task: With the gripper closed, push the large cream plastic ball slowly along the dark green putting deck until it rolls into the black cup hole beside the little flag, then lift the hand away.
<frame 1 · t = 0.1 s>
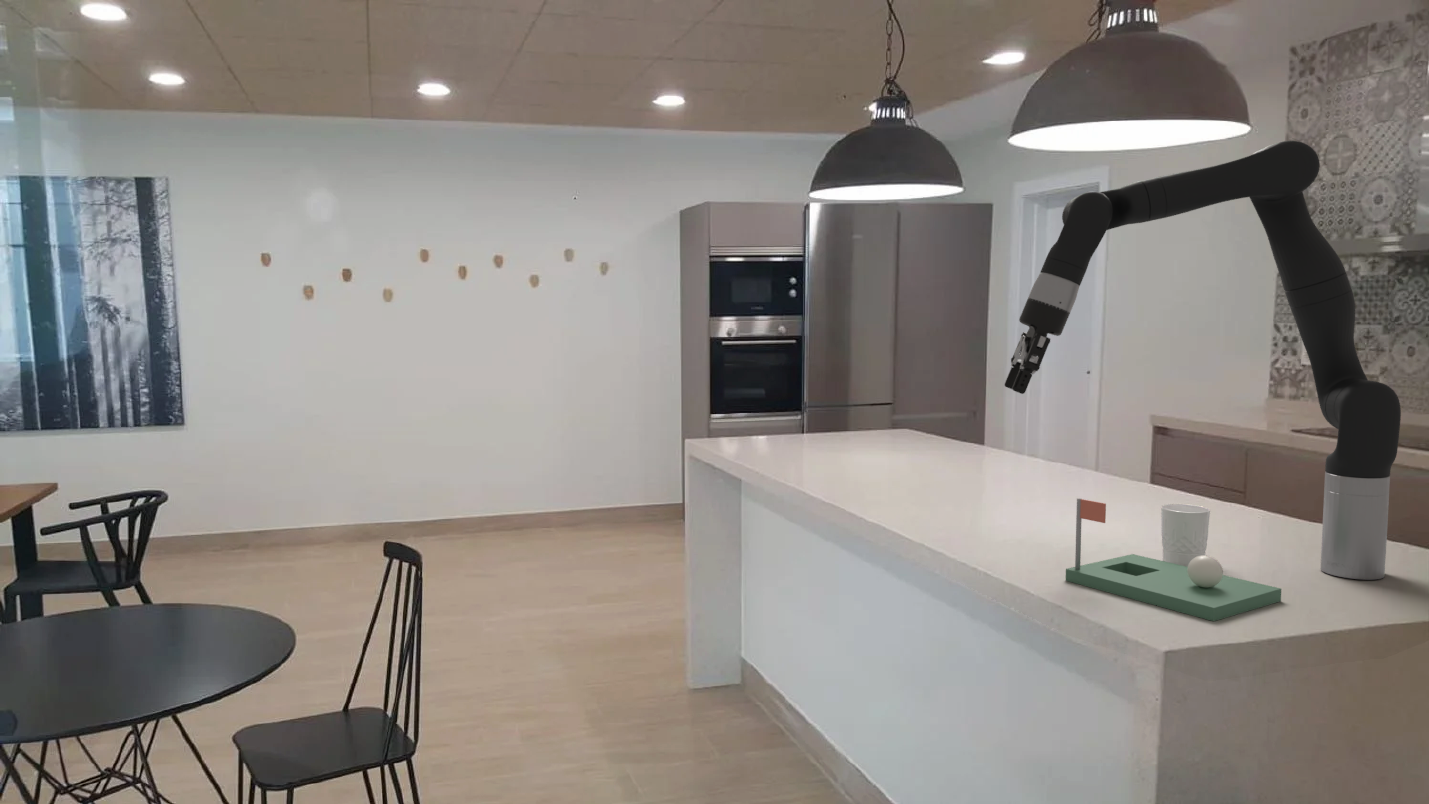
hand: (1013, 390, 172), 31 cm above the countertop, tool tilted 20°, fingers open, 8 cm apart
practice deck: (1168, 590, 158), on the countertop
ball: (1205, 571, 152), point 4 cm above the countertop, touching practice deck
white cup: (1183, 563, 175), on the countertop
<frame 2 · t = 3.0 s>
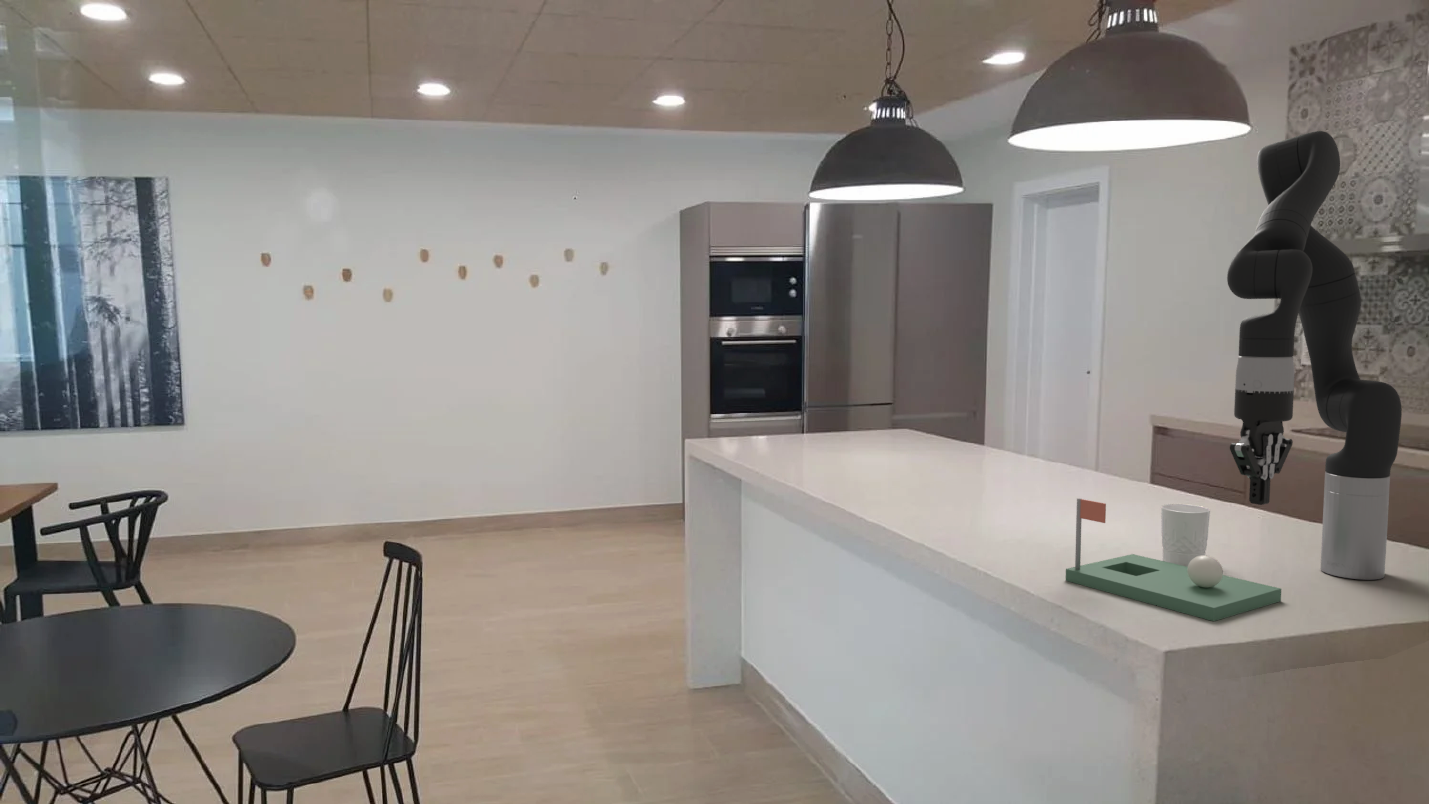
hand: (1259, 503, 144), 17 cm above the countertop, tool pointing down, fingers closed
nothing on the countertop moved.
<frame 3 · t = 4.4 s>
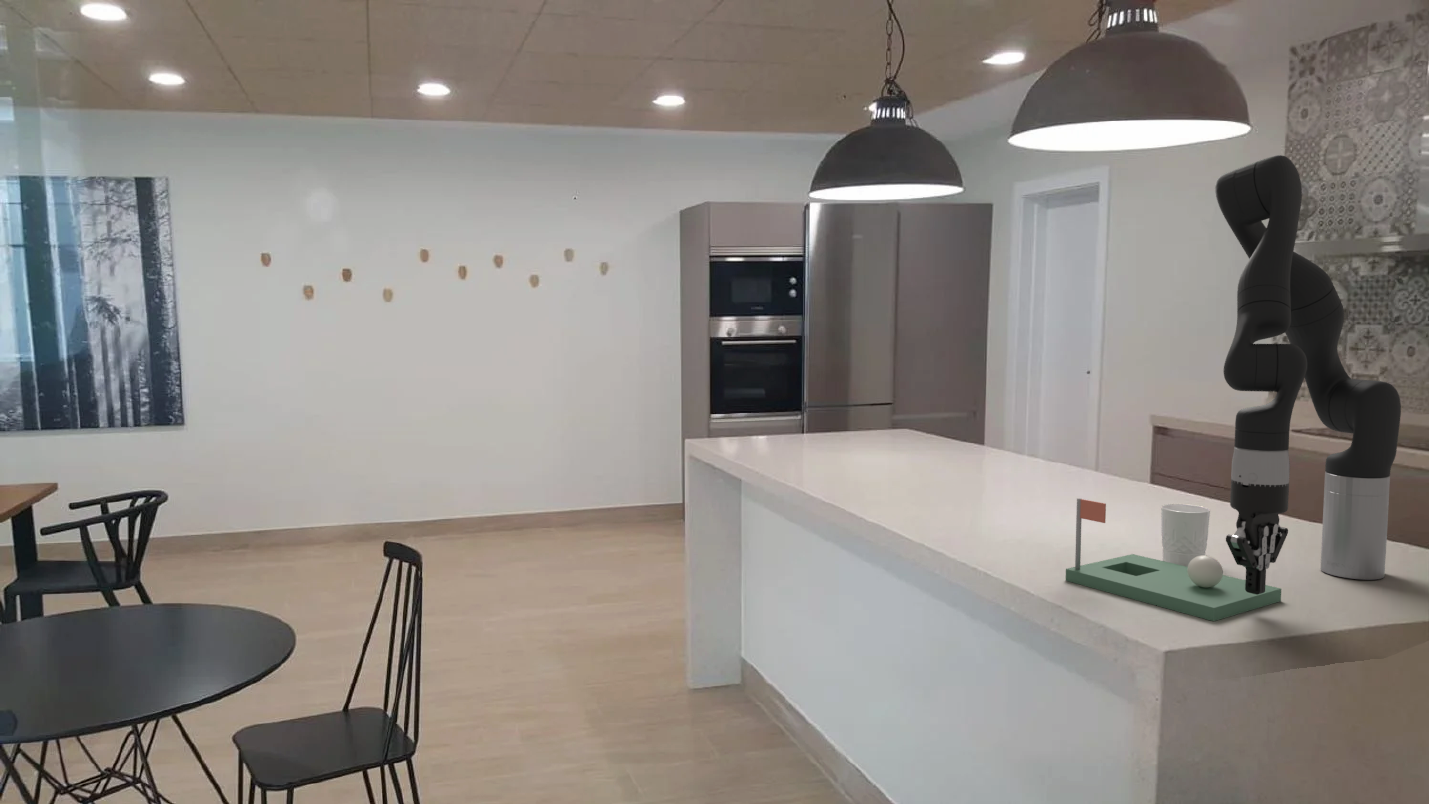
hand: (1254, 592, 145), 3 cm above the countertop, tool pointing down, fingers closed
nothing on the countertop moved.
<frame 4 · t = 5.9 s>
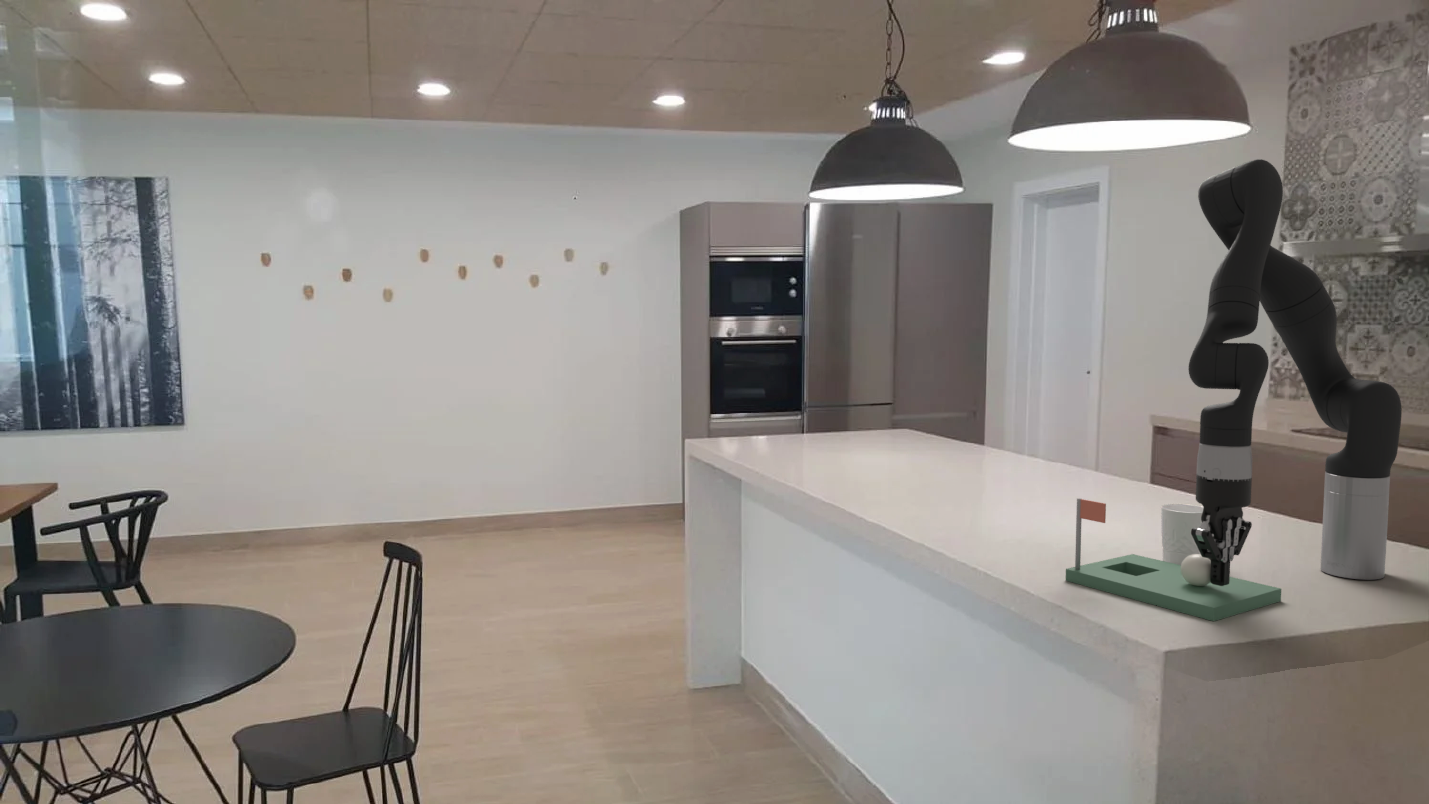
hand: (1219, 584, 150), 3 cm above the countertop, tool pointing down, fingers closed
ball: (1198, 569, 153), point 4 cm above the countertop, tilted 25°, touching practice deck
everything else where it was.
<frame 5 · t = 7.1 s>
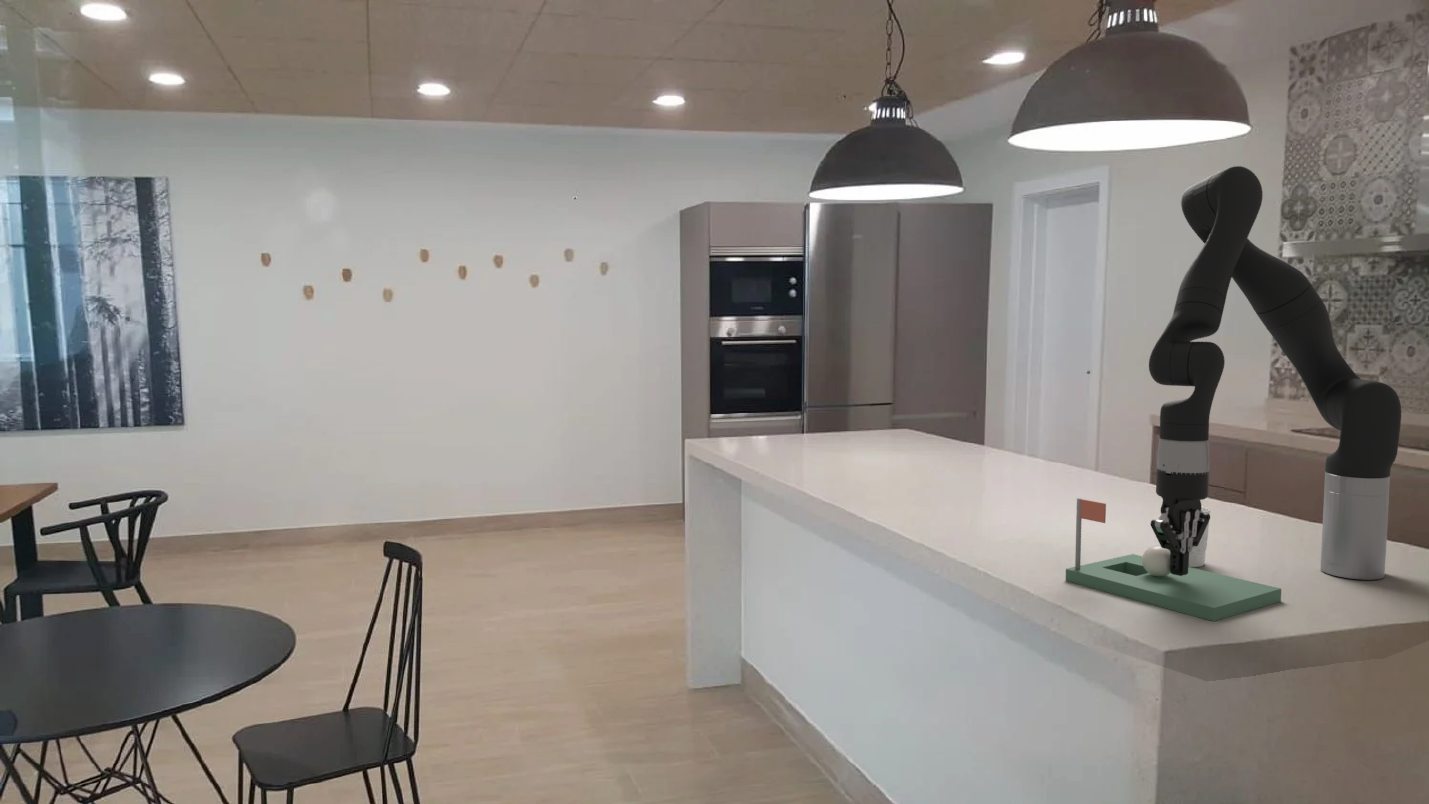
hand: (1178, 574, 156), 3 cm above the countertop, tool pointing down, fingers closed
ball: (1158, 561, 158), point 4 cm above the countertop, tilted 147°, touching gripper, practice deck
everything else where it was.
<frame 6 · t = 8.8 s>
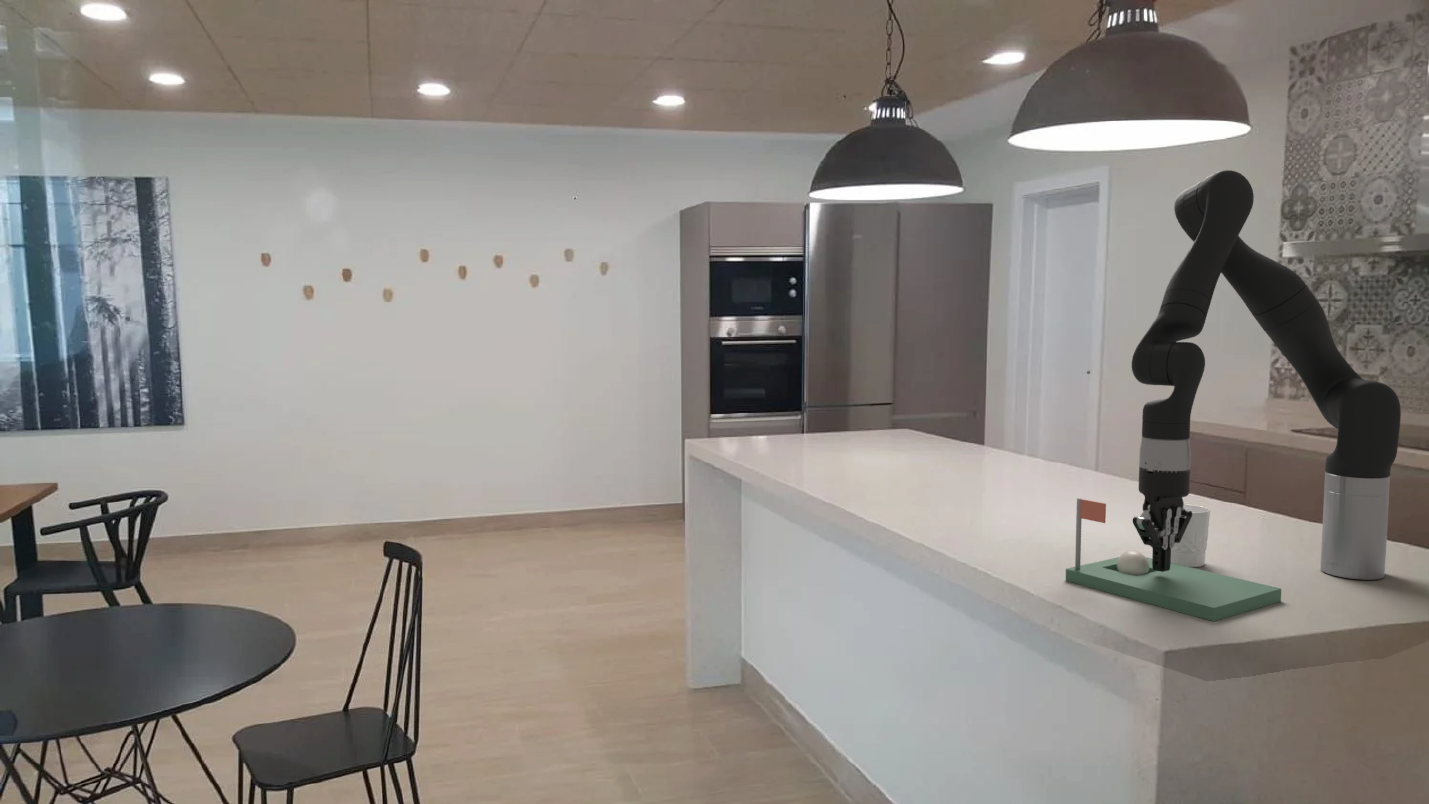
hand: (1161, 570, 159), 3 cm above the countertop, tool pointing down, fingers closed
ball: (1133, 565, 163), point 3 cm above the countertop, tilted 104°, touching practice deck
everything else where it was.
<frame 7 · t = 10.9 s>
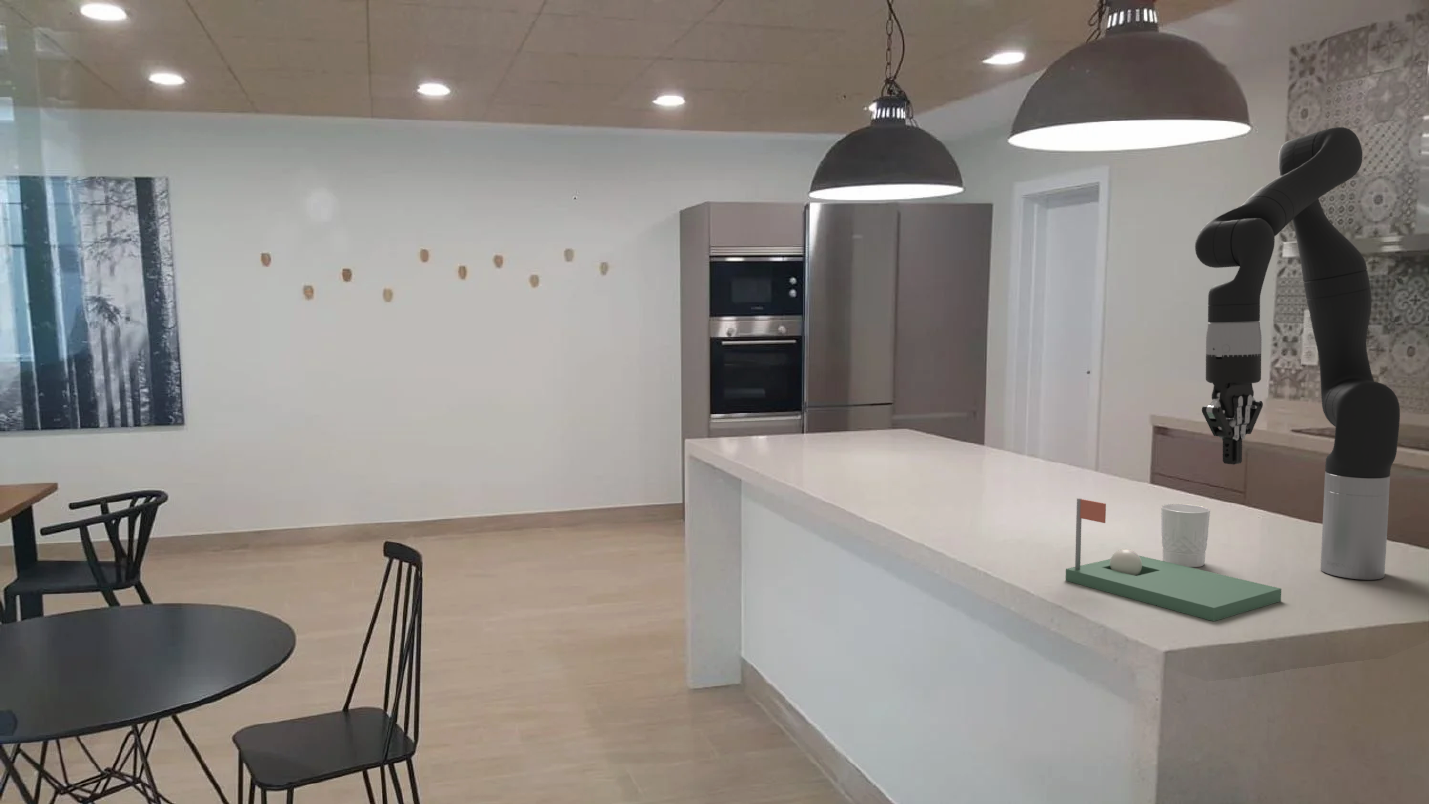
hand: (1232, 463, 150), 22 cm above the countertop, tool pointing down, fingers closed
ball: (1125, 563, 164), point 3 cm above the countertop, tilted 73°, touching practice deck
everything else where it was.
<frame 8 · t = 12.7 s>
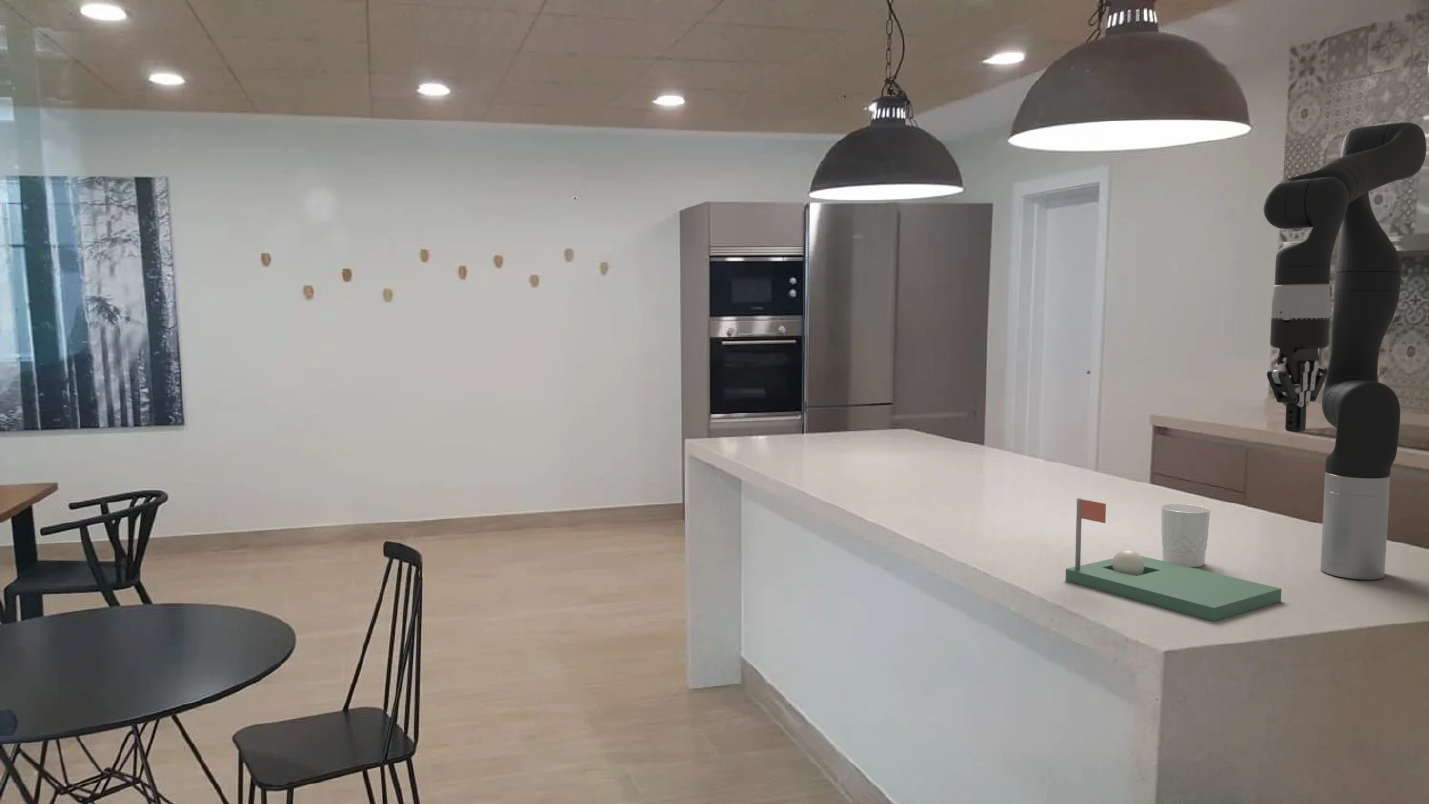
hand: (1295, 431, 146), 27 cm above the countertop, tool pointing down, fingers closed
ball: (1128, 564, 163), point 3 cm above the countertop, tilted 83°, touching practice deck
everything else where it was.
at the end: ball 0.4 cm from the target spot on the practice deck, point 2.7 cm above the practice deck's base; the gripper is holding nothing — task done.
